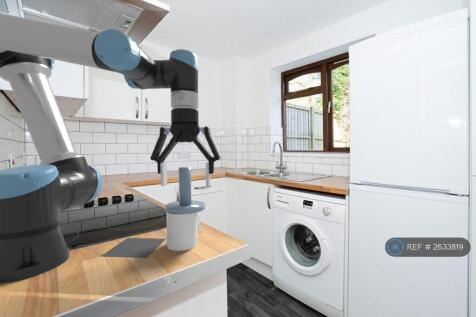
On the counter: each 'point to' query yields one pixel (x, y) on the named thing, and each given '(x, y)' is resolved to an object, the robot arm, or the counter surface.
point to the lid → (184, 196)
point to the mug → (182, 231)
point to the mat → (134, 247)
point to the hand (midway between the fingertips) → (186, 185)
